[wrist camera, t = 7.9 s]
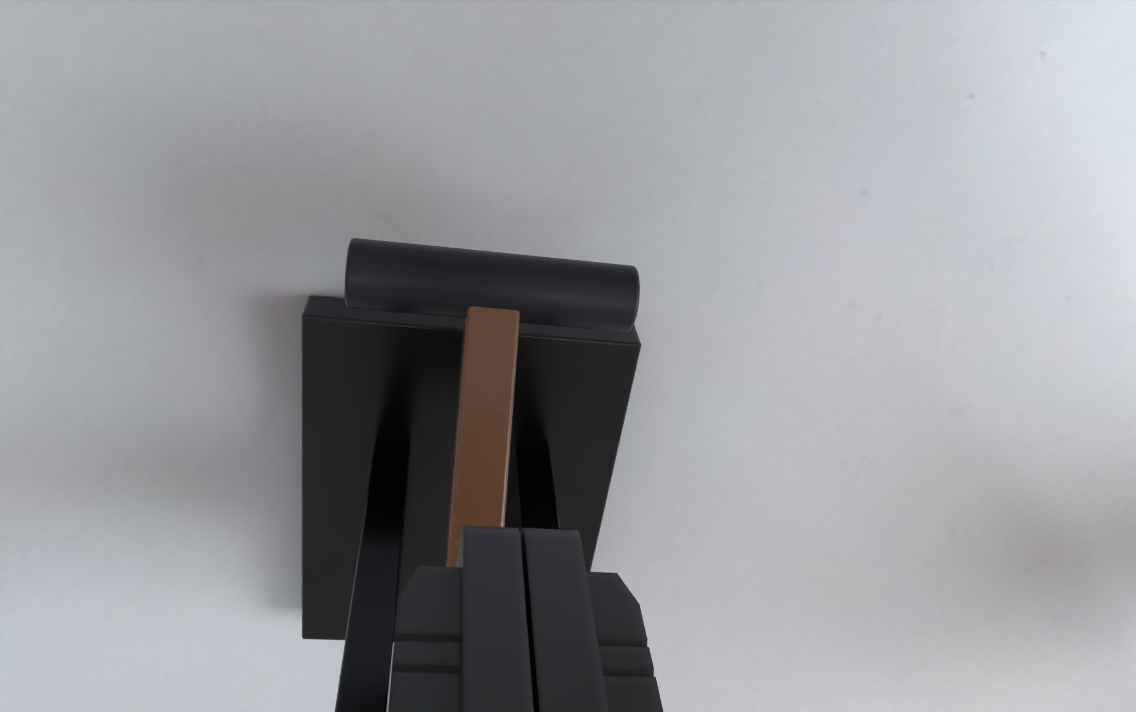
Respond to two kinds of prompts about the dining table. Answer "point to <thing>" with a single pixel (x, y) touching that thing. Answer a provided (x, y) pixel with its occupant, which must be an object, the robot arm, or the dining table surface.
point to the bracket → (433, 461)
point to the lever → (487, 339)
